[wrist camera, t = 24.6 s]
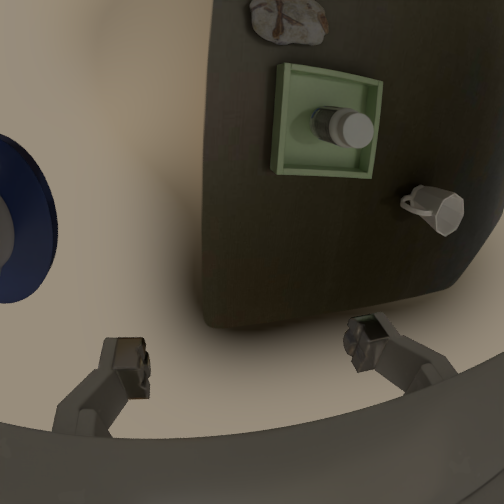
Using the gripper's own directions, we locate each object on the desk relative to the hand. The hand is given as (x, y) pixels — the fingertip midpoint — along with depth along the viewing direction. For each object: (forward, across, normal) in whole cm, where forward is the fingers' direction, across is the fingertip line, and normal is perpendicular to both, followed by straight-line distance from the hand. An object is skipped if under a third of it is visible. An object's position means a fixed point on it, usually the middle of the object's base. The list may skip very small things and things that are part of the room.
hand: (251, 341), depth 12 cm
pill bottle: (+30, -15, -6) cm, 34 cm away
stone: (+30, -9, -19) cm, 37 cm away
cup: (+31, -33, +5) cm, 45 cm away
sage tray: (+30, -15, -6) cm, 34 cm away
